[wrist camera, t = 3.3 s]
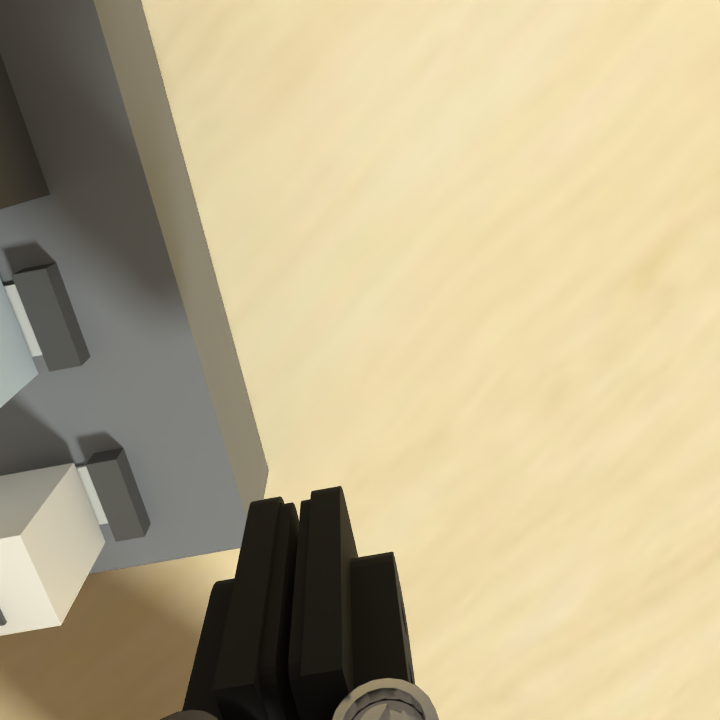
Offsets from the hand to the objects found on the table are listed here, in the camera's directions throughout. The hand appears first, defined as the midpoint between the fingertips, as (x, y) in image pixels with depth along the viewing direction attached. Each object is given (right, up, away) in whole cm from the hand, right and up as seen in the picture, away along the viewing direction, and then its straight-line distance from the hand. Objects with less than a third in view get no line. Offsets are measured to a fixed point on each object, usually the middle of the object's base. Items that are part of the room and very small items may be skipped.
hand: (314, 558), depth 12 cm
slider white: (-7, 0, +6) cm, 9 cm away
